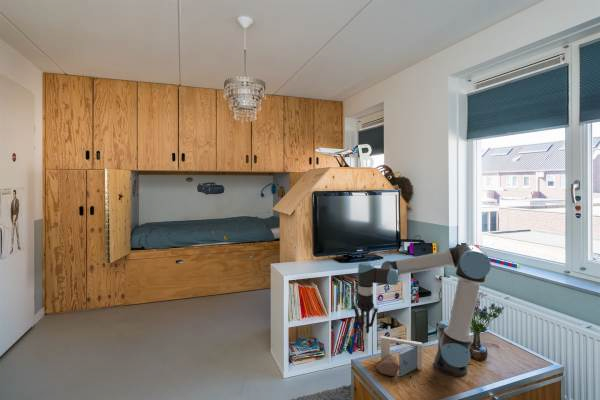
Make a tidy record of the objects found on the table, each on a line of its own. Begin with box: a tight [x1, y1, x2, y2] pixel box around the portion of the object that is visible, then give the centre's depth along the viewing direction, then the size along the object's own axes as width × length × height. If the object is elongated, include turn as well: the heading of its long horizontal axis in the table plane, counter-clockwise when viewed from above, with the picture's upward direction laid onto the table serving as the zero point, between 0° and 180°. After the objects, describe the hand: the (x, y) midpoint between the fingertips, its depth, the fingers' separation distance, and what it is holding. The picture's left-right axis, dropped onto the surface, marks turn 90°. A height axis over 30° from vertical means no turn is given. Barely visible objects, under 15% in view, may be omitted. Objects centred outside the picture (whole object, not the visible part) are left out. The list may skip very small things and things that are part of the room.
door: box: [398, 345, 418, 377], centre depth 152 cm, size 13×3×12 cm, turn 123°
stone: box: [375, 354, 400, 377], centre depth 154 cm, size 12×9×10 cm
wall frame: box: [380, 335, 423, 371], centre depth 159 cm, size 20×2×13 cm, turn 68°
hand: (365, 338), depth 158 cm, fingers closed
